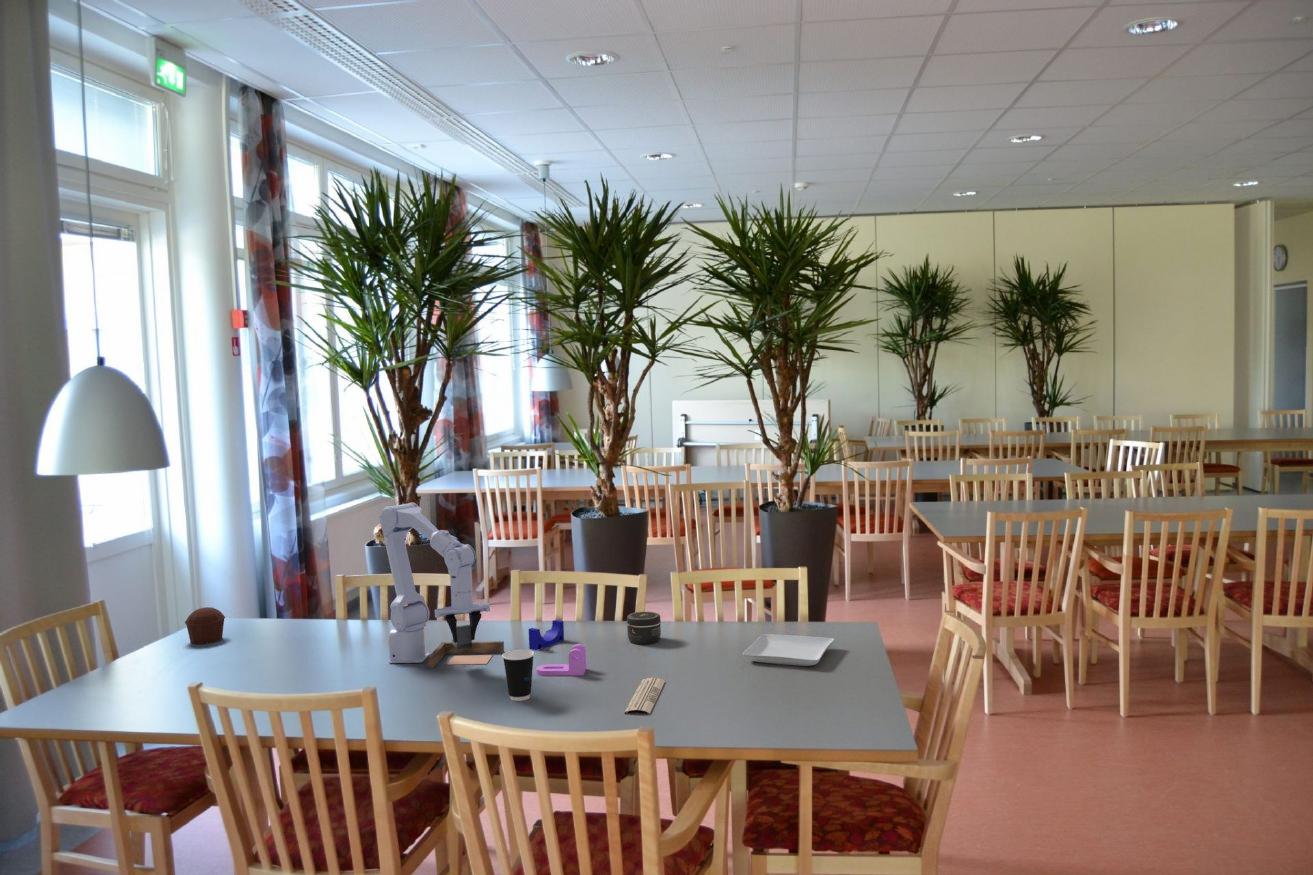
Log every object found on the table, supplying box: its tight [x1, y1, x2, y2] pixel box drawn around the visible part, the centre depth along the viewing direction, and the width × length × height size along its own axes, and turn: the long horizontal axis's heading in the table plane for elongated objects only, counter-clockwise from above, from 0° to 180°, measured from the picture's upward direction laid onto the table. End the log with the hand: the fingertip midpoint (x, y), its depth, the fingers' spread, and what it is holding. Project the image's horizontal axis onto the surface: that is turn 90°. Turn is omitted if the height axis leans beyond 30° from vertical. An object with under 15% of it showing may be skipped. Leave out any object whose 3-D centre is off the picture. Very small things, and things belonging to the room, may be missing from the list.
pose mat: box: [446, 654, 493, 666], centre depth 274 cm, size 11×8×1 cm
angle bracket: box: [451, 624, 473, 649], centre depth 266 cm, size 7×4×6 cm, turn 23°
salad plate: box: [742, 633, 835, 667], centre depth 268 cm, size 21×21×3 cm
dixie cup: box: [501, 649, 535, 702], centre depth 240 cm, size 8×8×11 cm
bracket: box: [535, 643, 587, 677], centre depth 260 cm, size 13×6×7 cm, turn 85°
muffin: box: [184, 607, 226, 645], centre depth 303 cm, size 12×11×10 cm
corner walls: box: [427, 640, 505, 669], centre depth 274 cm, size 18×15×3 cm
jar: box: [626, 611, 662, 646], centre depth 288 cm, size 10×10×8 cm
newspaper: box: [624, 677, 666, 715], centre depth 238 cm, size 24×7×2 cm, turn 171°
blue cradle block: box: [528, 619, 565, 651], centre depth 288 cm, size 12×4×6 cm, turn 145°
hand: (463, 640), depth 263 cm, fingers closed on angle bracket, 4 cm apart
